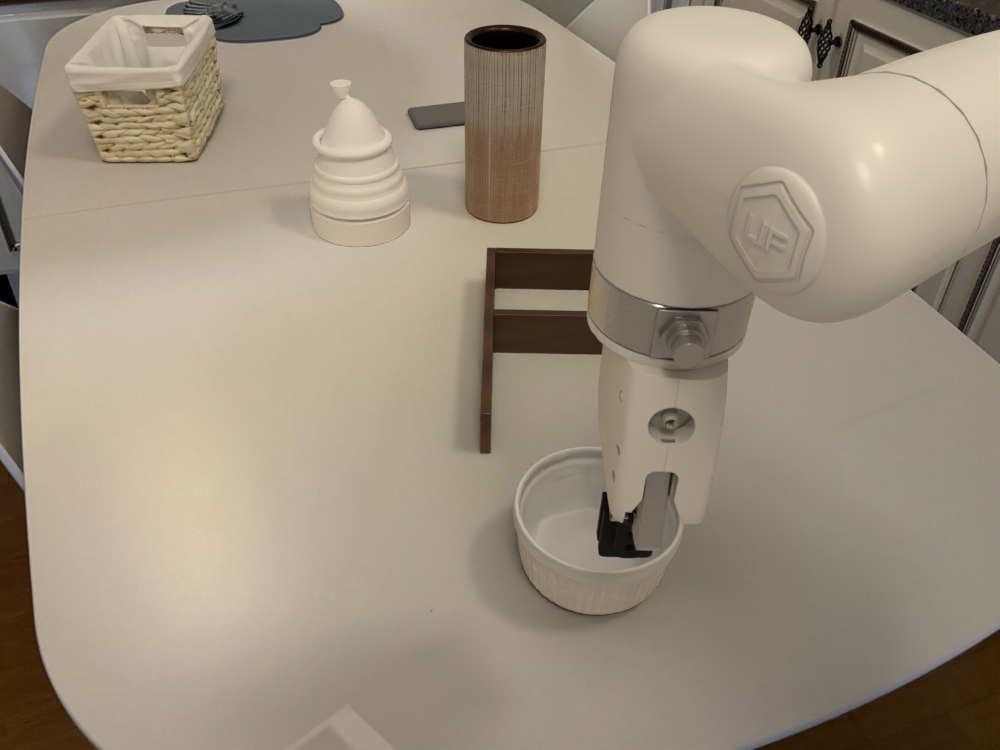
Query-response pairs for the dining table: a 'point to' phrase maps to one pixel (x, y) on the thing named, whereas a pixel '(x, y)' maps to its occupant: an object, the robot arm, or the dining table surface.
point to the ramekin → (581, 537)
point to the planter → (503, 120)
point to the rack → (532, 313)
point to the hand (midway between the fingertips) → (623, 546)
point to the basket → (148, 88)
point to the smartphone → (438, 115)
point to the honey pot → (357, 177)
